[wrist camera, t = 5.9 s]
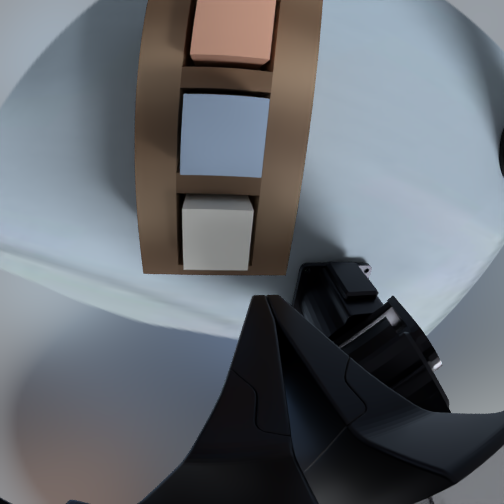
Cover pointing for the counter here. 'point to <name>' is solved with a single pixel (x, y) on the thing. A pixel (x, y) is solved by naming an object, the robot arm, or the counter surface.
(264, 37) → the key terracotta
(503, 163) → the aerosol can
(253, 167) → the key blue
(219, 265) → the key cream
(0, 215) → the counter surface
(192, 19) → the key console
